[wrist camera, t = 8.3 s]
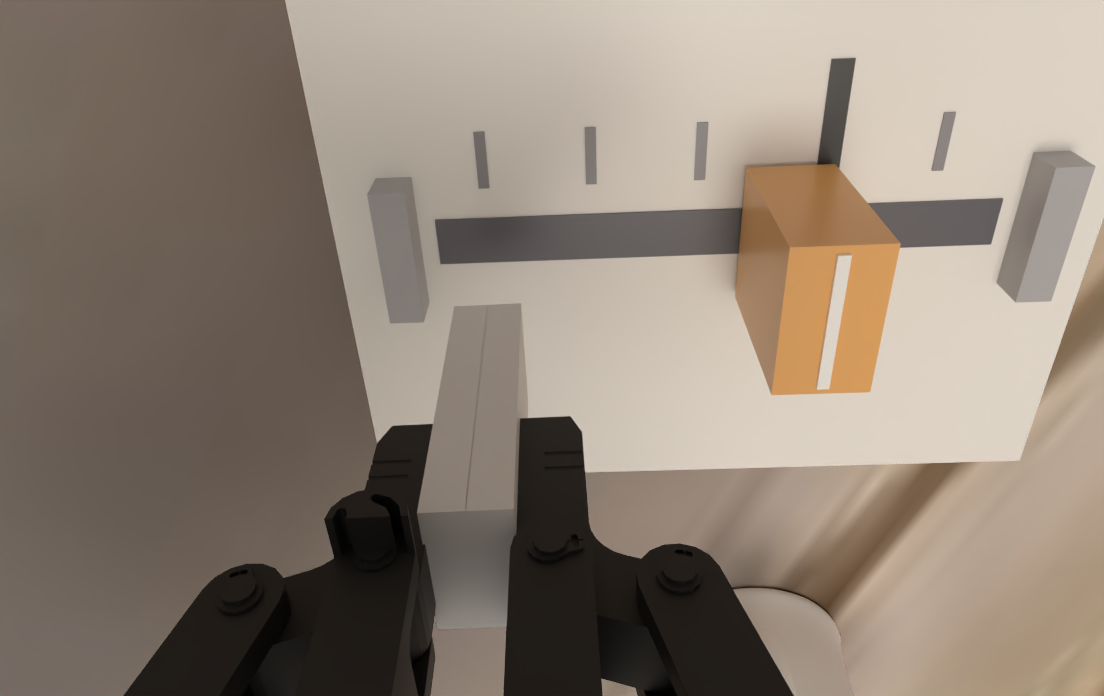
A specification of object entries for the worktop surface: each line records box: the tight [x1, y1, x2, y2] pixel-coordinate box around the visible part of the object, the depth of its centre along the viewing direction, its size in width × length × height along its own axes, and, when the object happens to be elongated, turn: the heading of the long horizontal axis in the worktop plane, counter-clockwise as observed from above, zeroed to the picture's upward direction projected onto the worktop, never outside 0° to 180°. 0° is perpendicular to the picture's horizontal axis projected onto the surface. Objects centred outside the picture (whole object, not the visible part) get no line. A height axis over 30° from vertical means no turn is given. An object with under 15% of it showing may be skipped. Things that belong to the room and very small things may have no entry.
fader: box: [735, 164, 901, 395], centre depth 21 cm, size 2×4×5 cm, turn 3°
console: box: [285, 0, 1104, 472], centre depth 24 cm, size 22×16×3 cm
